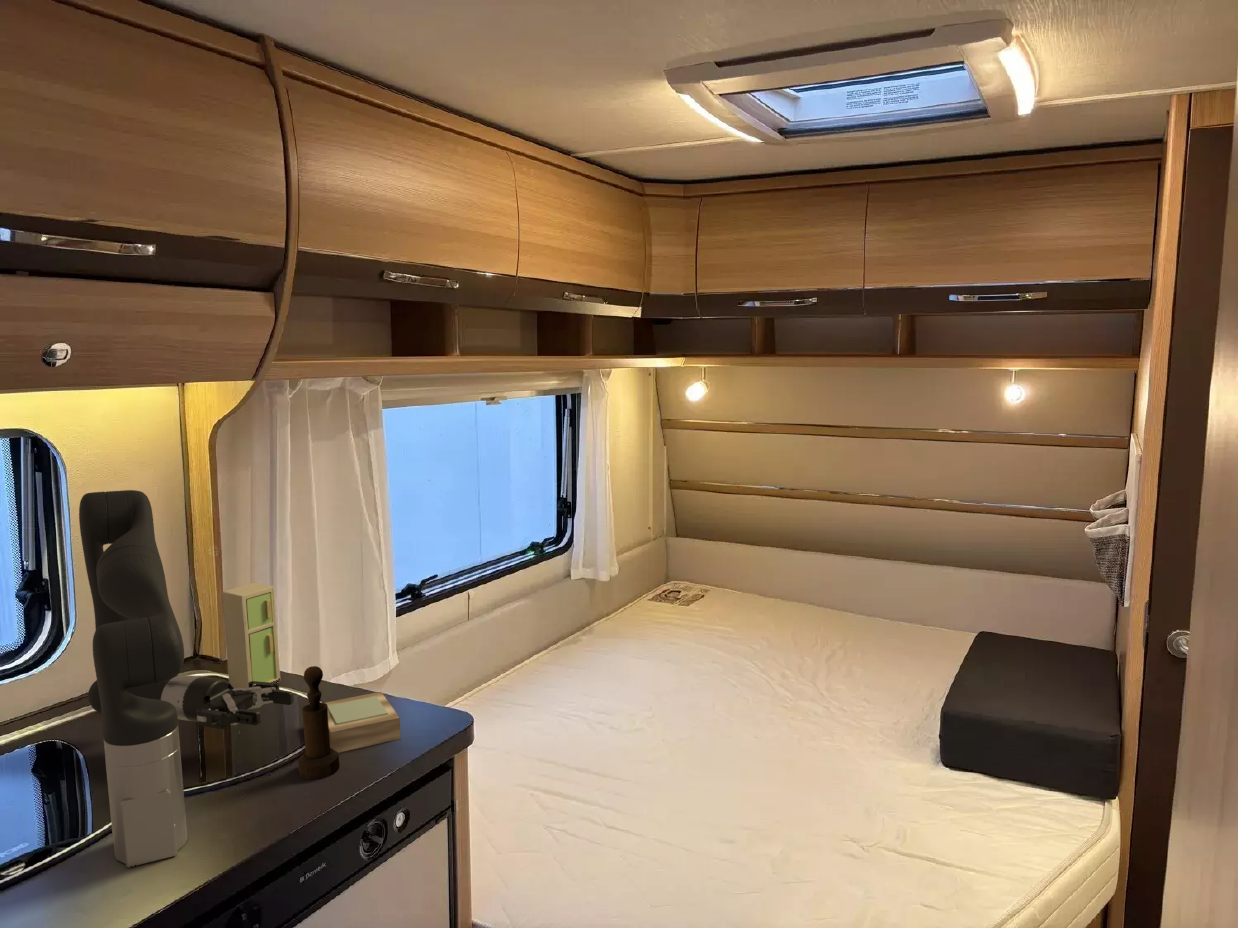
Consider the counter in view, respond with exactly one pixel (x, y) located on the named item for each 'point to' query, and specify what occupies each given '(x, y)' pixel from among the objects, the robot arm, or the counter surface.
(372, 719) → the birch pedestal
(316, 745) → the dark brown pepper mill
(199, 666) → the counter surface
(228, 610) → the toy refrigerator
